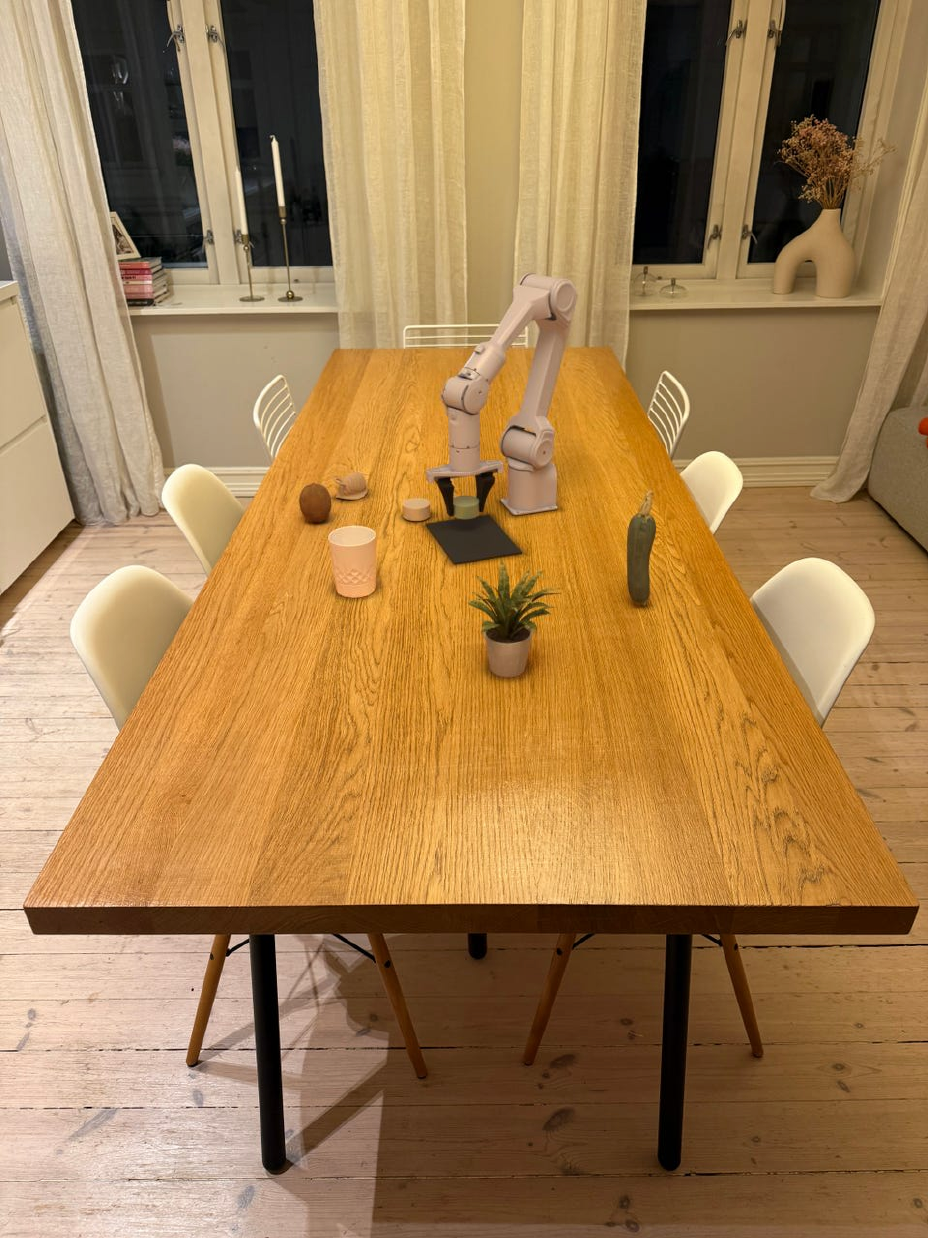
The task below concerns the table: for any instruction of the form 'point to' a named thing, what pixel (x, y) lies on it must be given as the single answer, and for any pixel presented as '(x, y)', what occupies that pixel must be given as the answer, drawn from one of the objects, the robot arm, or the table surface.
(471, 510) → the sage green puck
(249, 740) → the table surface
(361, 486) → the decorative ornament
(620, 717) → the table surface
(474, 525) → the mat
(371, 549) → the pink cup
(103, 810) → the table surface
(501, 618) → the house plant
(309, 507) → the fruit
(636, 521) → the vegetable
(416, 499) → the cream cylinder
